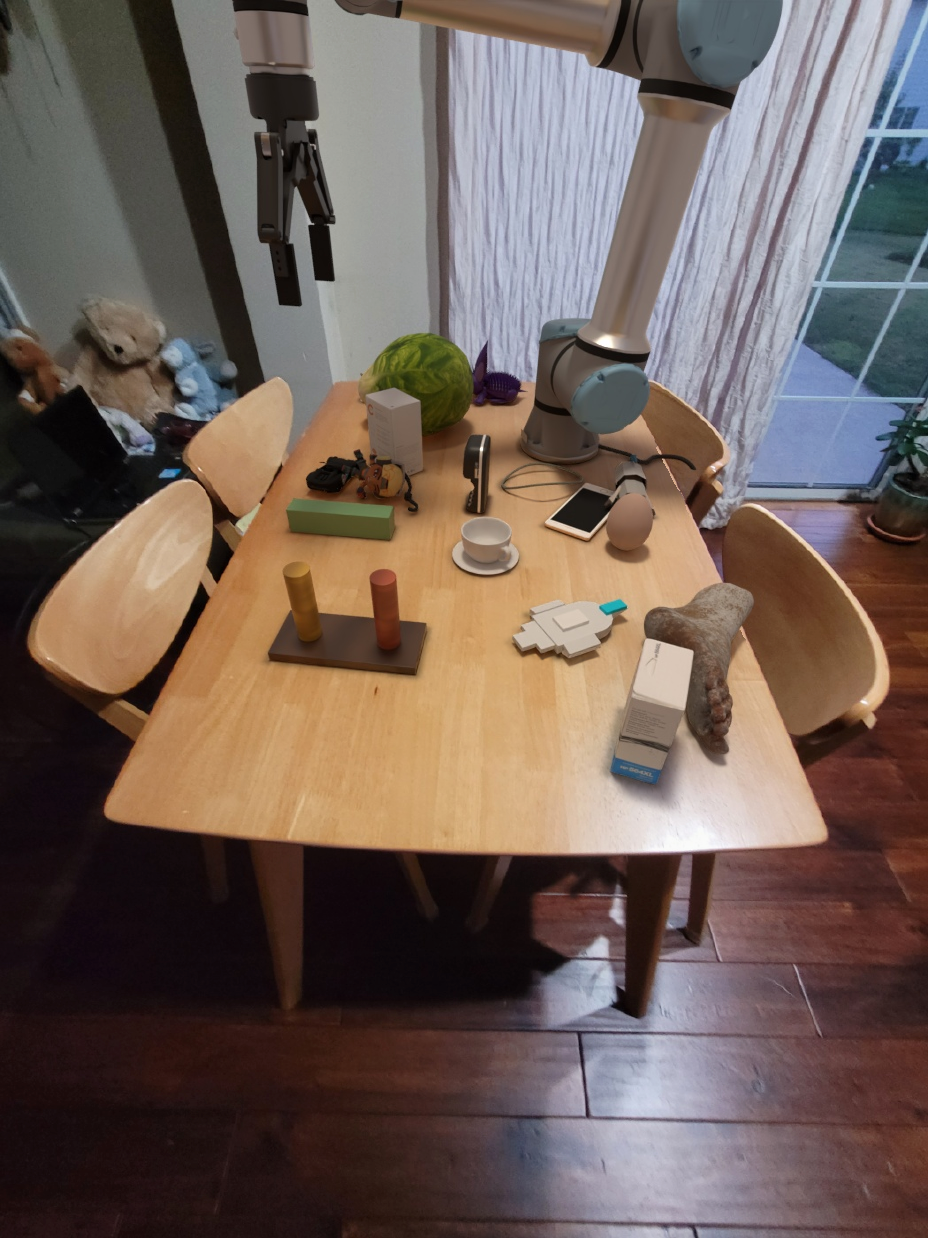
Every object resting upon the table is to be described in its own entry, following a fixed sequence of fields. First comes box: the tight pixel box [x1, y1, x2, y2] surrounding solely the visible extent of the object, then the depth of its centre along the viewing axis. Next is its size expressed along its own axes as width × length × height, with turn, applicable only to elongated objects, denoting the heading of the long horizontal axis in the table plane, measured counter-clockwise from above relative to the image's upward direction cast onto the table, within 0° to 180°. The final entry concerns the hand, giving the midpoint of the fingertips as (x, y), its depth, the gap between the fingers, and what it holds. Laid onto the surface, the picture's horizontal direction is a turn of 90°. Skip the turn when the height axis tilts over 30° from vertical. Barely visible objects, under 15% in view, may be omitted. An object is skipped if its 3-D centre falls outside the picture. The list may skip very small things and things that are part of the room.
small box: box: [365, 388, 424, 477], centre depth 103 cm, size 8×6×13 cm
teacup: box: [451, 516, 520, 575], centre depth 86 cm, size 10×10×5 cm
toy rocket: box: [511, 598, 629, 659], centre depth 74 cm, size 16×10×2 cm, turn 115°
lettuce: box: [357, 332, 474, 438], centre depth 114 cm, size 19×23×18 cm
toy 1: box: [342, 448, 420, 513], centre depth 97 cm, size 8×9×15 cm
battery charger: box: [462, 433, 492, 514], centre depth 95 cm, size 7×4×11 cm, turn 172°
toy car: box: [305, 455, 360, 494], centre depth 102 cm, size 8×12×4 cm
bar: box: [285, 498, 396, 541], centre depth 91 cm, size 16×4×4 cm, turn 83°
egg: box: [605, 493, 654, 551], centre depth 86 cm, size 7×7×9 cm
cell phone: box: [544, 482, 618, 541], centre depth 97 cm, size 8×16×1 cm, turn 147°
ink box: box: [609, 638, 694, 785], centre depth 58 cm, size 9×5×12 cm, turn 158°
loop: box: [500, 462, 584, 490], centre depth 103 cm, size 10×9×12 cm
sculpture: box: [643, 582, 755, 755], centre depth 67 cm, size 8×22×15 cm
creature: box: [471, 339, 529, 406], centre depth 128 cm, size 9×18×12 cm, turn 96°
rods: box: [267, 561, 428, 675], centre depth 69 cm, size 18×8×11 cm, turn 83°
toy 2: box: [604, 453, 657, 517], centre depth 96 cm, size 9×6×15 cm
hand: (309, 292), depth 77 cm, fingers open, 13 cm apart
